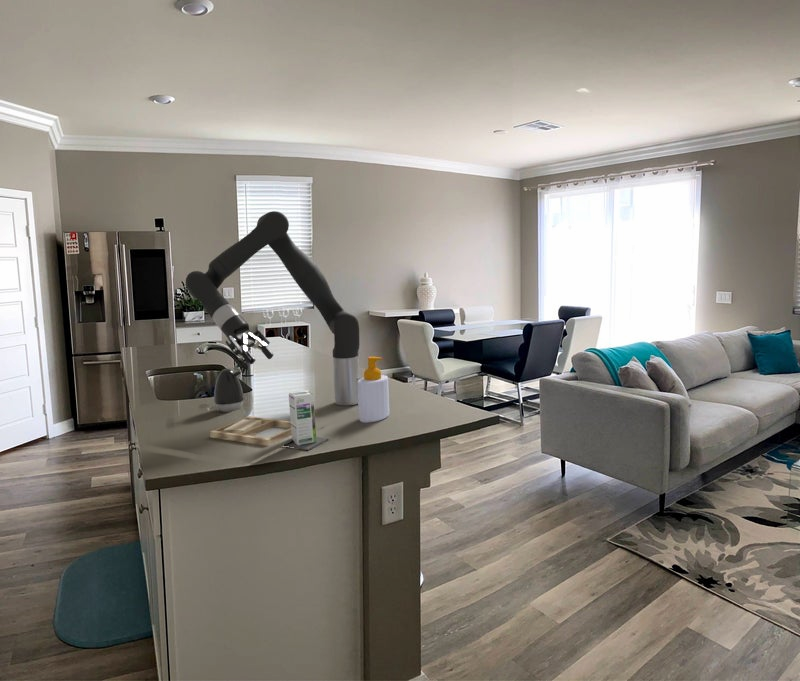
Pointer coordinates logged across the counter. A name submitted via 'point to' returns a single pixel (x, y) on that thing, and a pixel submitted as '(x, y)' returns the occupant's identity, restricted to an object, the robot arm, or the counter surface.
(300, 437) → the syrup box
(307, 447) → the pad
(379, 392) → the soap bottle
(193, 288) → the robot arm
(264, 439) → the offcut rack
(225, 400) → the dark grey tapered dome
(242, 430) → the offcut top
